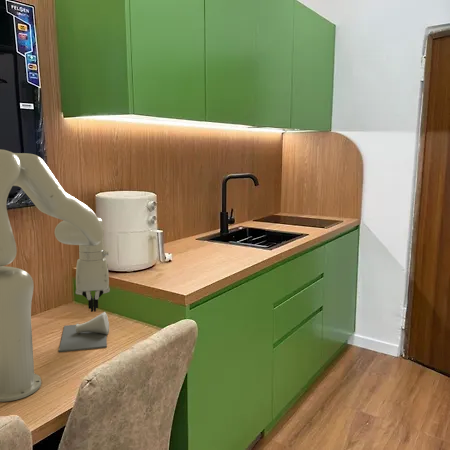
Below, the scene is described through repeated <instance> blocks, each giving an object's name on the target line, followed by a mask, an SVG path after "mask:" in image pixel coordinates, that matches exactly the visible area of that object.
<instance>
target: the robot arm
mask: <svg viewBox="0 0 450 450" xmlns="http://www.w3.org/2000/svg"><path fill="white" fill-rule="evenodd" d="M13 187H19V188H21V190H22V191H23V193H24V194H26V195H27V197H28V198H29V199H30V200H31V202H32V203H33V204H34V206H35V207H36V208H37V209H38V211H40V212H41V213H43V214H46V215H47V216H49V217H52V218H54V219H55V218H56V219H58V220H60V221H59V223H58V224H56V226H55V228H54V237H55V238H56V240H57V241H58V242H59V243H60V244H63V245H69V246H78V254H79V256H78V257H79V258H78V259H77V261H76V266H75V288H76V289H75V294H76V295H80V296H83V297H85V299H87V300H88V301H87V303H88V309H90V312H91V313H93V312H94V313H95V312H97V309H99V299H100V298H101V296H103V295H104V294H107V293H110V291H111V288H110V276H109V275H110V273H109V266H108V260H107V258H106V256H107V257H108V256H109V251H105V250H104V247H105V245H104V221H103V220H102V219H103V218H101V217H98V216H97V214H96V213H95V212H94V211H93V210H92V209H91V208H90V207H89V206H88V205H87V204H85V203H84V202H82V201H80V200H79V199H77V198H75V196H72V195H71V194H69V193H68V192H66V191H65V190H64V188H63V187H62V185H61V184H60V182H59V181H58V179H57V178H56V177H55V175H54V174H53V172H52V171H51V169H50V168H49V166H48V165H47V164H46V162H45V161H44V160H43V158H41V157H40V156H38V155H37V154H33V153H25V152H22V153H21V152H19V153H18V152H12V151H11V150H10V151H9V150H6V149H0V403H1V402H3V403H4V402H12V401H17V400H21V399H24V398H25V397H26V398H27V397H29V396H31V395H32V394H34V393H35V392H36V391H38V390H39V388H40V387H41V385H42V378H41V376H40V375H39V374H37V373H35V365H34V346H33V330H32V300H33V295H34V289H35V288H34V280H33V277H32V276H31V274H30V273H28V271H26V270H24V269H21V268H18V267H13V266H9V265H10V264H11V263H13V261H14V260H15V259H16V257H17V253H18V252H17V243H16V239H15V236H14V231H13V228H12V225H11V222H10V218H9V214H8V208H7V200H8V197H9V194H10V193H11V190H12V188H13ZM61 220H62V221H61ZM94 291H95V294H94V295H92V292H94Z"/></svg>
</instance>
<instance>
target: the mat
mask: <svg viewBox="0 0 450 450" xmlns="http://www.w3.org/2000/svg"><path fill="white" fill-rule="evenodd" d="M107 344H108V341H107V334H101V333H94V332H81V333H79V334H77V332H76V324H68V325H67V324H66V325H64V326H63V331H62V335H61V340H60V343H59V348H58V353H64V352H73V351H74V352H75V351H83V350H84V351H85V350H93V349H95V350H96V349H104V348H107V347H108V345H107Z"/></svg>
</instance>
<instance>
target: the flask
mask: <svg viewBox="0 0 450 450" xmlns="http://www.w3.org/2000/svg"><path fill="white" fill-rule="evenodd" d="M75 325H76V332H77V334H79V333H81V332H94V333H101V334H107V335H108V334H109V332H110V322H109V317H108V314H107V313H106V311H103V312H101V313H99V314H98V315H97V316H95V317H94V318H91V319H90V320H88V321H86V322H83V323H80V324H79V323H76V324H75Z"/></svg>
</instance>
